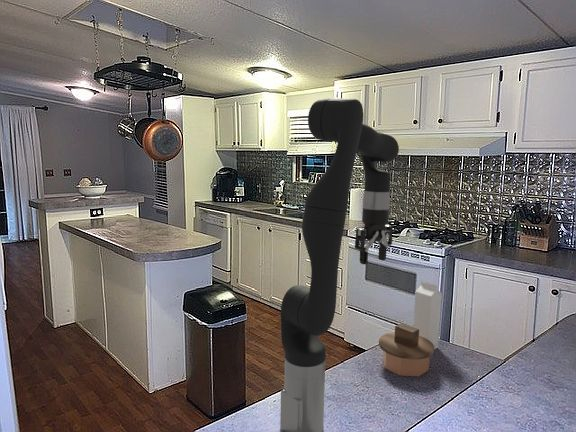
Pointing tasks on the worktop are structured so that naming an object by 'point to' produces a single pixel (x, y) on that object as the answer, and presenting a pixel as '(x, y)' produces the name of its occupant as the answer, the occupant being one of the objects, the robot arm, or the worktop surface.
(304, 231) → the robot arm
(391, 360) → the bowl
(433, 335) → the milk
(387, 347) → the lid
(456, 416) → the worktop surface
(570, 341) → the worktop surface
